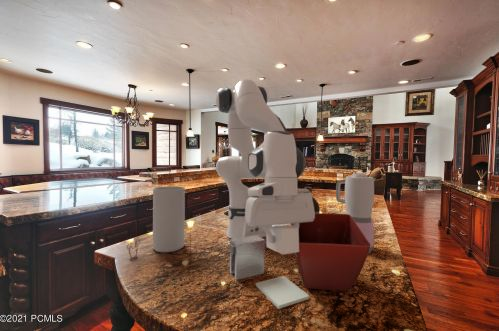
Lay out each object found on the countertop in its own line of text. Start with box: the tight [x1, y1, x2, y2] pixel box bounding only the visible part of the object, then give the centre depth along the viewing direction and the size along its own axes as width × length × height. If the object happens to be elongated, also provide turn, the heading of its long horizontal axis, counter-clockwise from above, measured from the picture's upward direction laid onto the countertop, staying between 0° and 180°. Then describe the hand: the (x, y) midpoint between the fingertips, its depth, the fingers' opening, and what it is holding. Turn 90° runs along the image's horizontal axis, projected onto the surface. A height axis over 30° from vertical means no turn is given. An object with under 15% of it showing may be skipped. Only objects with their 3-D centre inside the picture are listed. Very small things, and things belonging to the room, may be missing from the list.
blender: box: [335, 173, 377, 255], centre depth 101 cm, size 16×12×32 cm
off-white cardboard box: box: [266, 224, 299, 255], centre depth 62 cm, size 5×8×6 cm, turn 24°
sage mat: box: [255, 275, 310, 310], centre depth 66 cm, size 10×12×1 cm
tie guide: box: [229, 235, 266, 281], centre depth 77 cm, size 10×5×11 cm, turn 117°
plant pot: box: [296, 212, 370, 292], centre depth 71 cm, size 19×19×17 cm
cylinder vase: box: [152, 185, 186, 253], centre depth 98 cm, size 12×12×25 cm
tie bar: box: [229, 240, 267, 255], centre depth 77 cm, size 12×2×2 cm, turn 117°
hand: (282, 241), depth 62 cm, fingers closed on off-white cardboard box, 5 cm apart
